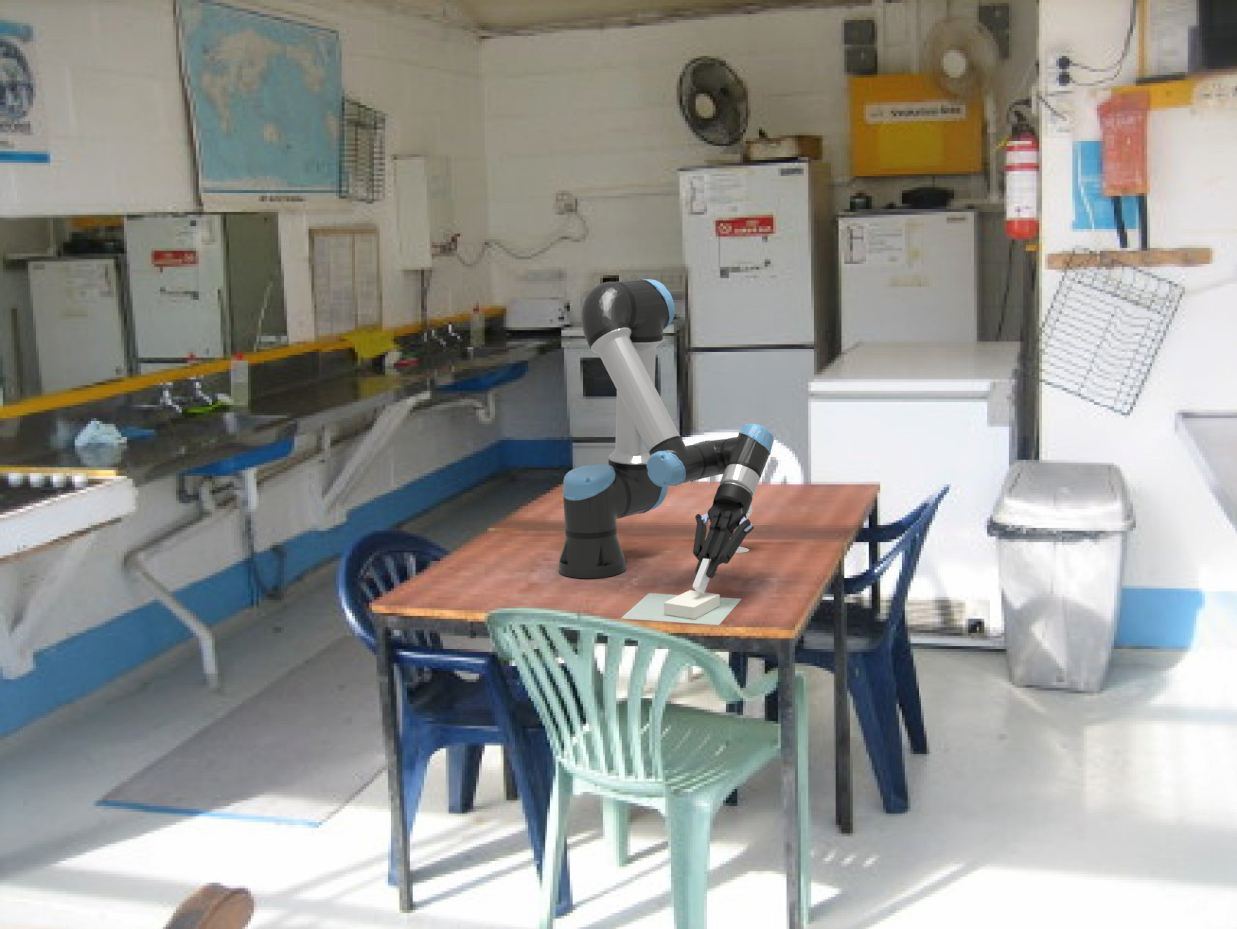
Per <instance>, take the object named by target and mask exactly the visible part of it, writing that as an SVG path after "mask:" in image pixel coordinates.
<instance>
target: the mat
mask: <svg viewBox="0 0 1237 929" xmlns="http://www.w3.org/2000/svg"><path fill="white" fill-rule="evenodd" d="M679 595H680V594H669V593H655V592H654V593H651V592H648V593H647V594H646V595H645V596H644V597H643V598H642V599H641V600H639V601H638V603H636V604H635V605H634V606H633V607H632V608H630V610H628V611H627V612H626V613H625V614H624V615H623V616H621V617H620V618H621V619H622V620H624V619H625V620H634V621H635V620H636V621H637V620H638V621H652V622H653V621H654V622H664V623H665V622H666V623H680V624H681V623H683V624H696V625H697V624H698V625H711V626H720V624H721V623H722V622H723V621H724V620H725V619H726V618H727V616H729V614H730V613H731V612H732V610H733V609H735V607H736V606H737V605H738V604H739V603H740V602H741V601H742V598H736V597H735V598H731V597H720V606H719V607H717V608H715V609H713V610H711V611H709V612H707V613H705V614H703V615H702V616H700V617H698V618H696V619H690V618H683V617H677V616H671V615H665V614H664V602H666V601H668V600H670V599H672V598H674V597H677V596H679Z"/></svg>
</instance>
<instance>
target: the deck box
mask: <svg viewBox="0 0 1237 929" xmlns="http://www.w3.org/2000/svg"><path fill="white" fill-rule="evenodd" d="M678 595H679V596H677V597H674V598H672V599H670V600H668V601H666V602H664V614H665V615H671V616H677V617H683V618H690V619H696V618H698V617H700V616H702V615H703V614H705V613H707V612H709V611H711V610H713V609H715V608H717V607H719V606H720V598H721V597H720V596H721V595H720V594H718V593H713V592H712V593H711V592H706V591H705V592H704V594H702V593H697V592H696V590H691V589H689V590H687V591H685V592H682V593H681V594H678Z"/></svg>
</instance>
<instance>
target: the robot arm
mask: <svg viewBox="0 0 1237 929" xmlns="http://www.w3.org/2000/svg"><path fill="white" fill-rule="evenodd" d="M580 312H581V313H580V321H581V327H582V332H583V335H584V338H585V340H586V342H587V344H588V346H589V349H590V350H591V352H592V353H593V354H597V355H599V358H600V359H601V362H602V364H603V366H604V368H605V370H606V371H607V373H608V375H609V377H610V380H611V381H612V383H613V385H614V387H615V389H616V403H615V404H616V407H615V408H616V411H615V414H616V415H615V445H614V446H615V449H614V450H613V451H612V452H610V454H609V455H608V460H607V461H608V462H607V464H605V463H593V464H589V465H581V466H578V467H575V468H573V469H570V470H569V471H568V472H567V473H566V474H565V475H564V476H563V488H562V497H563V498H562V499H563V511H564V528H565V529H564V530H565V531H564V533H565V540H564V542H563V546H562V550H561V554H560V557H559V560H558V568H559V569H558V570H559V573H560V574H561V575H563V576H566V577H568V578H574V579H575V578H576V579H600V578H608V577H612V576H613V577H614V576H617V575H619V574H622V573H623V572H625V570H626V569H627V563H626V561H627V560H626V557H625V554H624V551H623V548H622V546H621V543H620V541H619V538H618V532H617V530H618V529H617V520H618V519H622V518H626V517H630V516H635V515H638V514H639V515H640V514H645V513H648V512H650V511H652V510H655V509H657V508H658V507H659V506H661V504H662V503H663V502H664V501H665V500H666V499H665V498H666V497H667V494H668V490H669V487H676V486H679V485H682V484H685V483H688V482H692V481H693V482H694V481H698V480H702V479H707V478H711V477H715V476H719V475H722V476H721V479H720V481H719V485H718V487H717V489H716V491H715V494H714V497H713V502H712V506H710V508H709V509H708V511H707V512H706V513H703V514H702V515H701V514H700V513H697V514H696V515H695V517H694V518H695V522H696V526H695V536H694V541H693V549H692V554H693V555H694V557H695V558H696V559H697V560H698V562H697V565H696V567H695V569H694V574H695V575H696V576H695V579H694V580H693V583H692V588H693V589H694V591H696V592H697V593H702V594H704V592H706V590H707V586H708V584H709V582H710V580H711V579H713V578H714V577H715V575H716V572H717V570H718V568H719V566H720V565H721V564H725V565H727V564H729V563H730V561H731V560H732V558H733V557H734V555H735V552H736V550H737V549H738V547H739V546H740V547H741V544H742V543H743V541H744V539H746V536H748V535H749V533H751V532H752V531H753V530H754V529H755V526H754V525H753V523H752V521H751V520H750V519H749V518H748V519H746V518H747V516H746V514H747V512H748V510H749V507H750V505H752V502H753V497H754V496H755V493H756V490H757V488H758V486H759V483H760V480H761V477H762V476H763V473H764V471H765V467H766V464H767V462H768V460H769V458H770V455H771V452H772V448H773V445H774V442H775V438H774V435H773V433H772V432H771V431H770V430H769V429H768V428H767V427H765V426H763V425H762V424H758V423H746V424H744V425H742V427H741V428H740V431H738V436H734V437H729V438H724V439H722V438H721V439H713V440H702V441H700V442H696V443H694V444H690V445H685V442H684V440H683V438H682V437H681V435H680V433H679V432H678V429H677V427H676V425H675V423H674V422H673V419H672V418H671V416H670V414H669V412H668V409H667V408H666V406H665V404H664V401H663V400H662V398H661V396H660V393H658V390H657V388H656V381H655V380H656V357H657V356H656V354H657V349H656V348H657V347H658V346H659V345H660V344H661V343H663V341H664V330H665V329H667V328H668V327H669V326H670V324H671V323H672V322H673V320H674V318H675V302H674V299H673V296H672V294H671V292H670V291H669V290H668V289H667V287H666V286H665V285H664V284H663V283H662V282H660V281H659V280H656V279H650V278H647V279H646V278H636V279H627V280H620V281H619V280H618V281H606V282H602V283H600V284H598V285H595V286H594V287H593V288H592V289H591V290H590V291H589V292H588V293H587V295H586V296H585V298H584V300H583V303H582V307H581V311H580ZM709 523H710V525H709ZM708 525H709V530H707V528H708V527H707V526H708ZM707 531H708V532H707Z"/></svg>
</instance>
